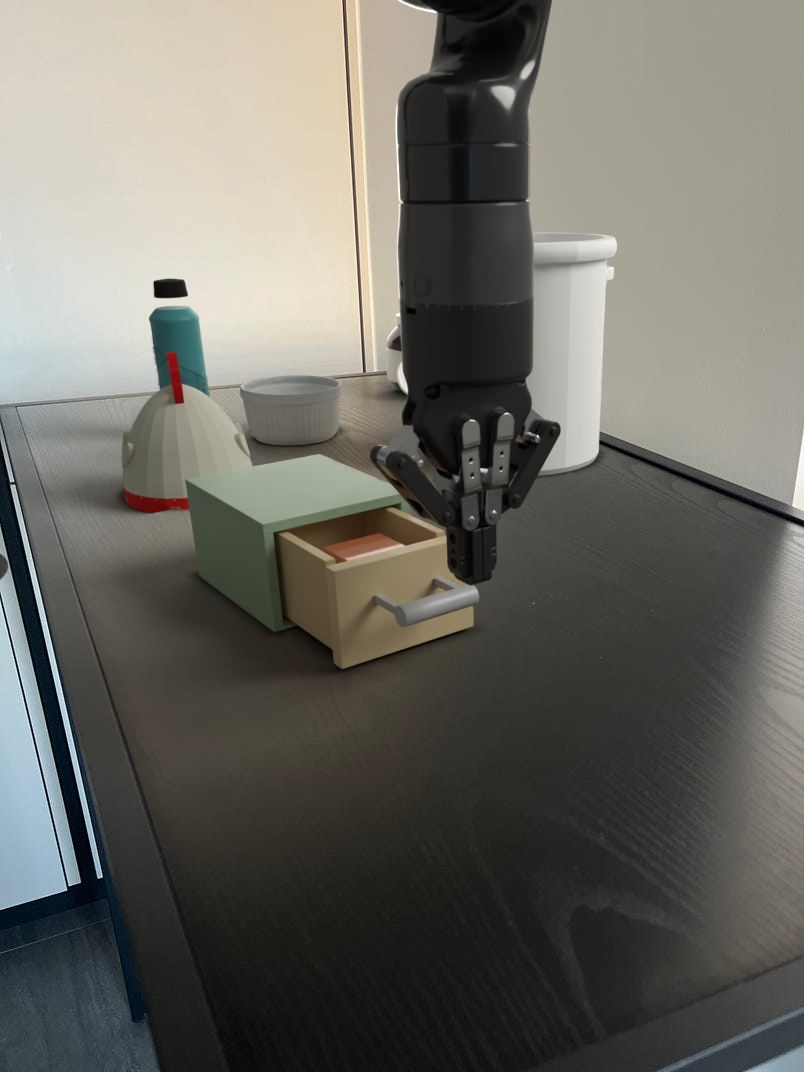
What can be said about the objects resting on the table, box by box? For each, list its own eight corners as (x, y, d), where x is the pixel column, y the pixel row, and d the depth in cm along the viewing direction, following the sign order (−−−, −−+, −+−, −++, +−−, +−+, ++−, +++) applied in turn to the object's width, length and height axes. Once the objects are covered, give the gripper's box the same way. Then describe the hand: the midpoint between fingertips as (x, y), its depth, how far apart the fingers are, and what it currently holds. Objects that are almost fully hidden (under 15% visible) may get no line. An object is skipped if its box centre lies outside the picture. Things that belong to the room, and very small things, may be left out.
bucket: (546, 426, 134) (550, 228, 123) (655, 462, 117) (671, 237, 106) (380, 453, 122) (369, 237, 111) (475, 498, 105) (472, 248, 94)
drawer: (510, 646, 70) (510, 551, 67) (374, 693, 64) (368, 591, 61) (379, 573, 83) (374, 491, 80) (256, 607, 77) (246, 519, 74)
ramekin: (351, 424, 136) (348, 373, 133) (337, 449, 124) (333, 393, 121) (257, 425, 136) (252, 374, 133) (234, 449, 124) (227, 394, 121)
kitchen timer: (248, 471, 115) (233, 340, 108) (263, 505, 103) (247, 360, 97) (125, 483, 111) (102, 348, 105) (126, 520, 99) (99, 370, 93)
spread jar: (431, 382, 162) (429, 309, 157) (472, 392, 154) (471, 316, 149) (370, 391, 156) (366, 315, 151) (410, 403, 148) (407, 323, 143)
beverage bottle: (209, 428, 135) (188, 275, 126) (221, 438, 129) (201, 279, 121) (161, 434, 132) (136, 277, 123) (172, 445, 127) (147, 282, 118)
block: (361, 630, 70) (356, 566, 68) (327, 608, 74) (322, 546, 72) (418, 613, 73) (416, 550, 71) (383, 592, 76) (379, 532, 74)
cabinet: (413, 597, 81) (408, 491, 77) (275, 638, 74) (262, 524, 70) (327, 549, 91) (319, 453, 87) (199, 580, 84) (184, 479, 80)
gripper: (516, 277, 60) (516, 541, 68) (328, 294, 53) (351, 587, 61) (600, 286, 55) (589, 572, 62) (403, 307, 48) (418, 627, 55)
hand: (472, 579), depth 61 cm, fingers closed
